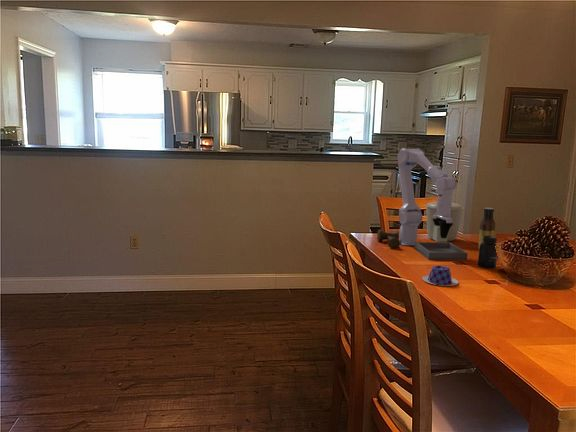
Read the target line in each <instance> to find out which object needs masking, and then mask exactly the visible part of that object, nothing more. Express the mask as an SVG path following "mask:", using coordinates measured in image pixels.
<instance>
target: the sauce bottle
mask: <svg viewBox="0 0 576 432" xmlns="http://www.w3.org/2000/svg"><path fill="white" fill-rule="evenodd" d="M494 212H495V208H493V207H484V208H483V218H482V220H481V221H480V226H479V235H478V247H477V248H478V249H479V248H480V244H481V243H482V242H484V241H483V238H484V236H494V237H496V236H495V235H496V222H495V220H494Z"/></svg>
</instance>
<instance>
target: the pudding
mask: <svg viewBox="0 0 576 432" xmlns="http://www.w3.org/2000/svg"><path fill="white" fill-rule="evenodd" d="M422 280H423V281H424V282H425V283H428V284H431V285H434V286H437V285H436V284H439V285H438V286H443V287H450V286H457V285H459V281H458V280H457V279H455V278H454V277H452V274H451V269H450V267H448V266H445V265H444V266H443V265H434V266H432V267H431V270H430V273H429V274H426V275H424V276H422ZM452 283H453V284H452ZM440 284H441V285H440ZM448 284H450V285H448Z"/></svg>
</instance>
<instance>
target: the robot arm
mask: <svg viewBox="0 0 576 432" xmlns="http://www.w3.org/2000/svg"><path fill="white" fill-rule="evenodd" d="M396 157H397V163H398V164H397V165H398V176H399V181H400V189H401V190H400V191H401V196H402V197H401V198H402V206H401V207H400V208H399V209H398V211H399V212H398V213H399V214H398V221H399V224H400V227H399V241H400V244H401V246H415V242H418V240H417V239H418V229H419V226H420V224H421V223H422V221H423V218H424V217H423V214H422V210H421V207H420V206H419V205H418V204H416V198H415V190H414V183H413V177H412V169H413V168H415V167H416V166H417V165H419V166H420V167H422V168H423V169H424V170H425V171H426V172H427V174H426V175H427V176H428V178H430V179H431V181H433V182H434V184H435V188H436V193H437V201H436V202H437V211H436V213H435V215H433V217H437V218H436V219H433V222H434V224H435V226H440V235H441V238H446V237H447V235H448V232H449V229H450V228H451V226H452V225H453V223H452V218H451V216H450V214H451V204H452V203H453V202H452V201H453V190H455V189H456V187H457V179H456V178H455V176H453V175H448V173H447V172H445V171H444V170H443V169H442V167H441V166H440V165H434V164H433V163H431V161H430V160H429V159H428V158H427V157H426V155H425V152H424V151H423V150H421V149H420V148H405V147H403V148H401V149H400V150H399V152H398V154H397V156H396Z"/></svg>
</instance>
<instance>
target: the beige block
mask: <svg viewBox="0 0 576 432" xmlns="http://www.w3.org/2000/svg"><path fill="white" fill-rule="evenodd" d="M447 236H448V235H447ZM432 240H434V241H435V242H440V243H448V241H447V237H446V238H441V235H440V226H434V228H433V239H432Z"/></svg>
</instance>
